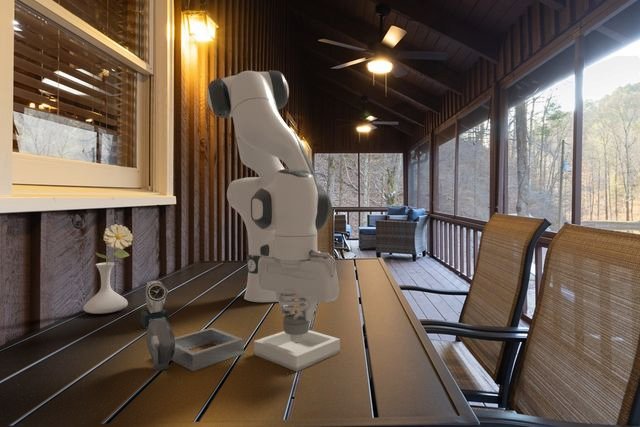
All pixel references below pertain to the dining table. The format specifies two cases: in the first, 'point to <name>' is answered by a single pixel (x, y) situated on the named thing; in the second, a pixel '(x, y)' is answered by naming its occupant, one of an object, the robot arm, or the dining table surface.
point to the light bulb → (294, 317)
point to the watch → (154, 303)
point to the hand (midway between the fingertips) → (296, 316)
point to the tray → (297, 349)
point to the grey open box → (190, 346)
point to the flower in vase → (106, 296)
